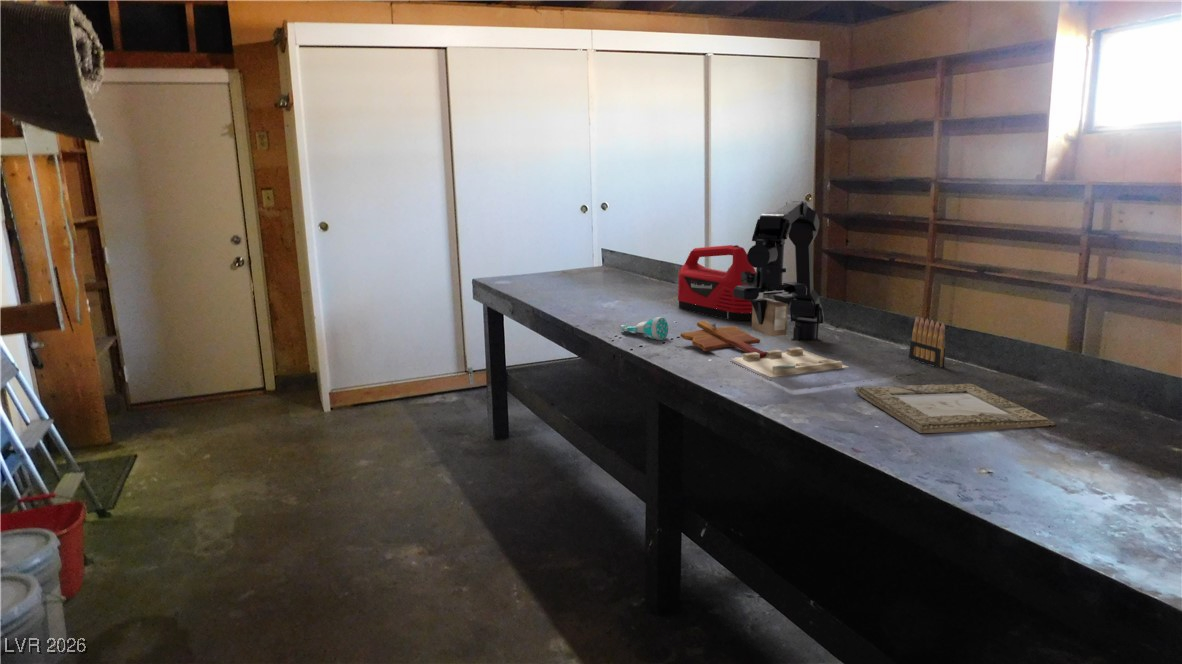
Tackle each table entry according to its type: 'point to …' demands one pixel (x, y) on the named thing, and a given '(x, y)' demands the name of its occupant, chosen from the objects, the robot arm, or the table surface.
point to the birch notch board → (787, 362)
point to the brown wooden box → (772, 319)
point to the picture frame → (950, 408)
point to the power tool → (714, 284)
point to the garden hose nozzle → (650, 328)
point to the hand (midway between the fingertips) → (768, 323)
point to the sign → (721, 338)
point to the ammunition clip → (928, 343)
